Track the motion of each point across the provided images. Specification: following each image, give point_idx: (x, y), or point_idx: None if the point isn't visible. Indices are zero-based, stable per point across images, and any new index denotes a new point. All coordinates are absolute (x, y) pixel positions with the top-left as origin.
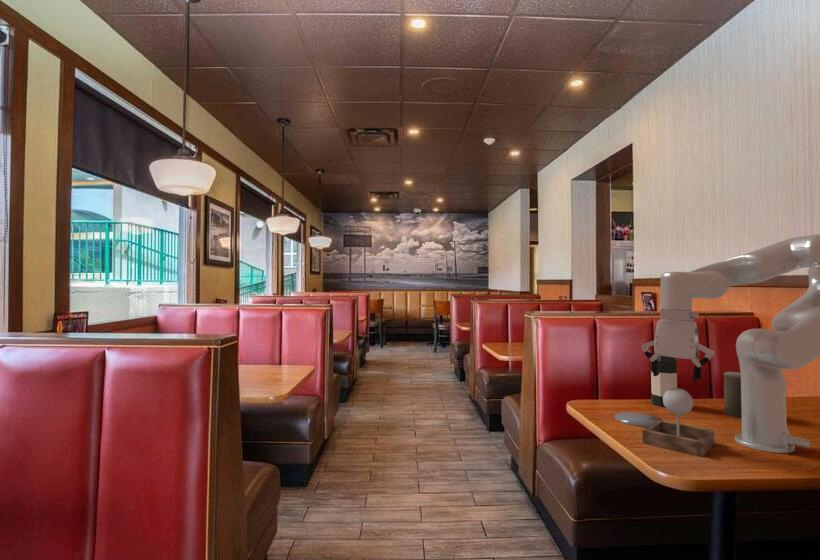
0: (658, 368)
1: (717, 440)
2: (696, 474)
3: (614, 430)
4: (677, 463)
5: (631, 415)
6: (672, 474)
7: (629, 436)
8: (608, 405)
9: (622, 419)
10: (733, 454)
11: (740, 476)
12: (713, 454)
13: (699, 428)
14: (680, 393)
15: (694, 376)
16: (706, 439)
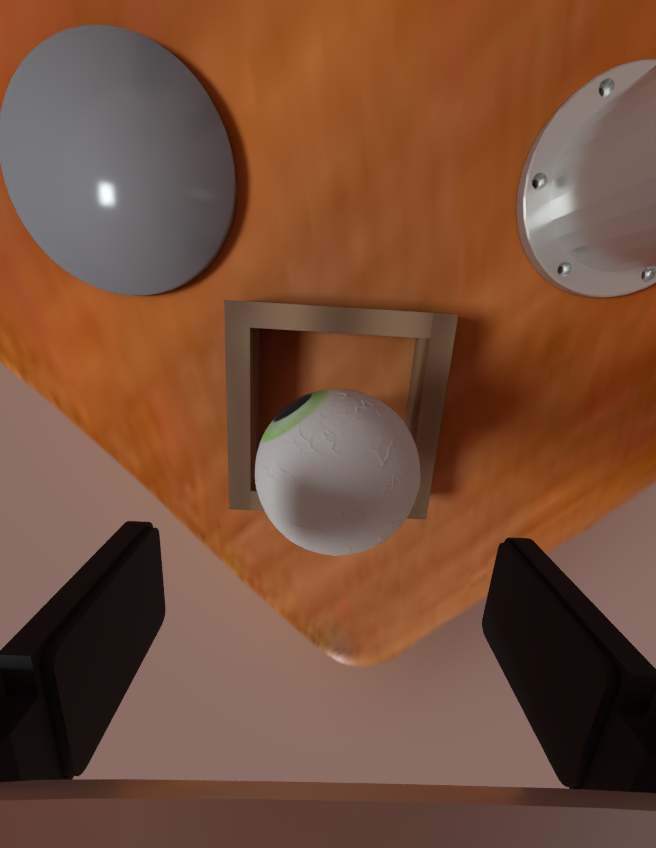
0: (121, 596)
1: (452, 267)
2: (405, 624)
3: (113, 407)
4: (358, 585)
5: (66, 132)
6: (358, 654)
7: (182, 442)
8: None
9: (72, 254)
10: (495, 409)
11: None
12: (439, 450)
13: (404, 330)
14: (363, 548)
15: (511, 677)
16: (433, 470)
